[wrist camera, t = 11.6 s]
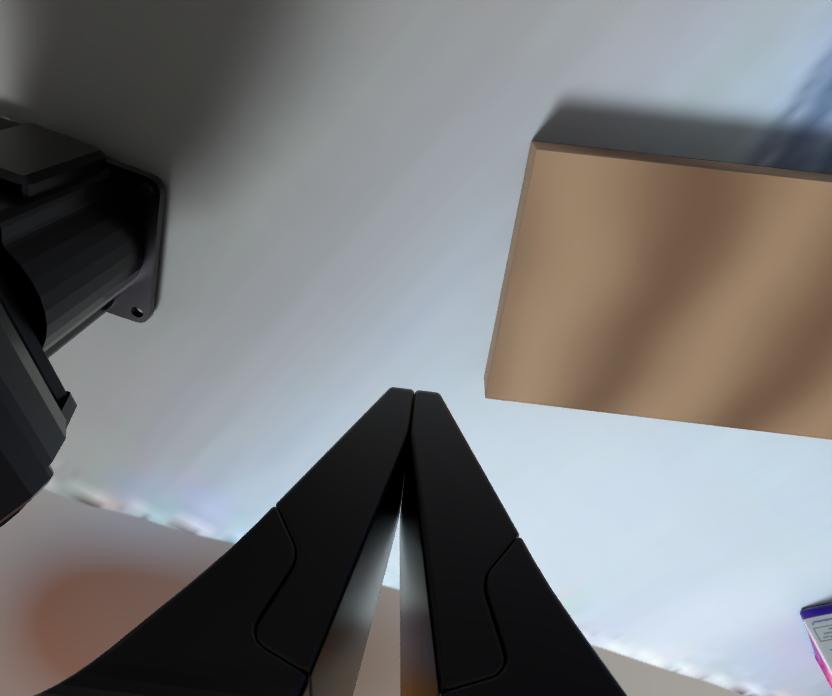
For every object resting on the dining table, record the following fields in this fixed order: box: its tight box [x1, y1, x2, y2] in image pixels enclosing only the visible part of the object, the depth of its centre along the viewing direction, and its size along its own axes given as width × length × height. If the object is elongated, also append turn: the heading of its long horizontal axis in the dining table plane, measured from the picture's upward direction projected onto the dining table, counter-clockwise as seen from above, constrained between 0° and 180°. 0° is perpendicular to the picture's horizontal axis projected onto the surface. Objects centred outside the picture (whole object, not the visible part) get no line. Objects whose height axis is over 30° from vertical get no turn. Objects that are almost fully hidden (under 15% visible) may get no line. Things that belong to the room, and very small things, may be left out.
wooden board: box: [484, 141, 832, 440], centre depth 19 cm, size 22×10×2 cm, turn 85°
